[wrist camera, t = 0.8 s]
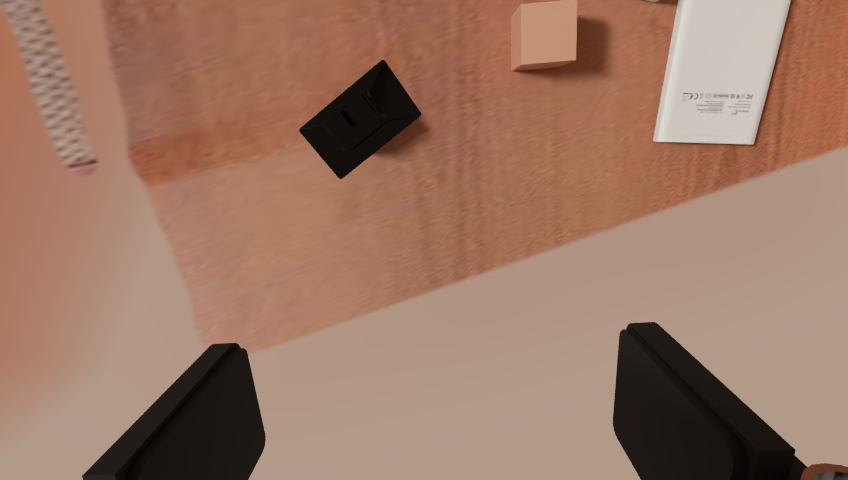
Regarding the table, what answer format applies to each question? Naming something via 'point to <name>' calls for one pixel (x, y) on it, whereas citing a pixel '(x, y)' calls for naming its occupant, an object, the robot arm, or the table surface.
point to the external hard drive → (719, 70)
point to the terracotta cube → (543, 35)
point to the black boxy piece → (361, 120)
